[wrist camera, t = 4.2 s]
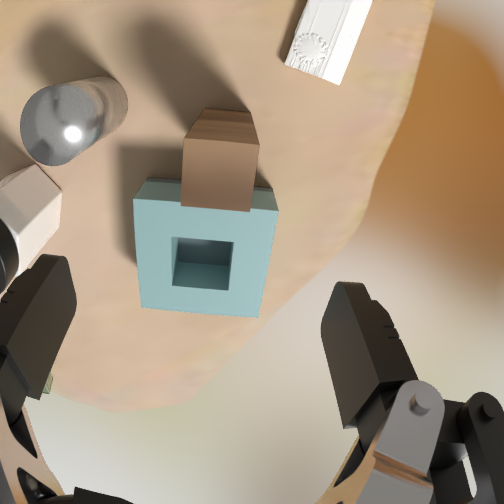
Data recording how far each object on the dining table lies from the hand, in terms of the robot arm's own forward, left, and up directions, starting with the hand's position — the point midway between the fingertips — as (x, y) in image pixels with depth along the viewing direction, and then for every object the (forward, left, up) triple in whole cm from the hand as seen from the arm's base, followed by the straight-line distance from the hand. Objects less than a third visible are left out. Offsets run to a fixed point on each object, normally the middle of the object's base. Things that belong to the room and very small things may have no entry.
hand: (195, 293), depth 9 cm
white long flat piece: (-14, +9, -22) cm, 28 cm away
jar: (+8, -21, -22) cm, 31 cm away
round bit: (-2, -12, -22) cm, 25 cm away
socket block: (+11, -1, -22) cm, 24 cm away
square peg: (0, 0, -22) cm, 22 cm away
